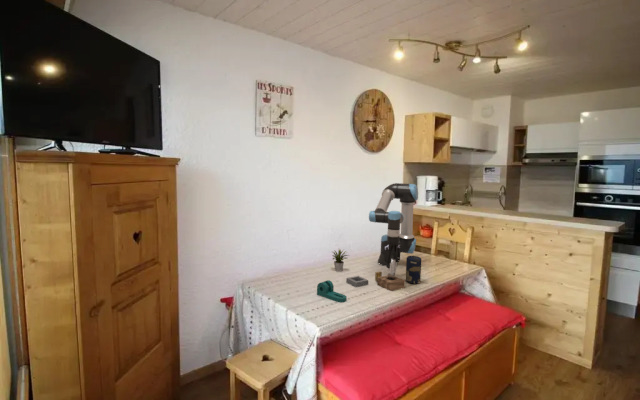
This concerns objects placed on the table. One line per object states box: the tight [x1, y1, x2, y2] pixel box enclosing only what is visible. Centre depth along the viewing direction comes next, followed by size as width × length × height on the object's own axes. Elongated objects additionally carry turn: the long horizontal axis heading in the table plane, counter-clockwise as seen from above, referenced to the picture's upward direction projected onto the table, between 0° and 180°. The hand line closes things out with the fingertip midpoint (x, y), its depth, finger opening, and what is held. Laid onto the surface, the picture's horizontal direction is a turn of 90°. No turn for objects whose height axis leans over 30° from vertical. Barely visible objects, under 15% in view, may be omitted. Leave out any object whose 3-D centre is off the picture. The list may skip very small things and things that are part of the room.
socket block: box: [376, 275, 406, 292], centre depth 208 cm, size 12×12×5 cm
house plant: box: [332, 248, 349, 272], centre depth 237 cm, size 14×14×16 cm
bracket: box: [316, 280, 347, 303], centre depth 187 cm, size 18×7×8 cm, turn 48°
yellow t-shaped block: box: [374, 270, 383, 282], centre depth 214 cm, size 10×4×6 cm, turn 33°
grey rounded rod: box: [388, 258, 396, 280], centre depth 208 cm, size 4×4×16 cm
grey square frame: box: [345, 275, 369, 288], centre depth 211 cm, size 10×10×3 cm
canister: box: [405, 255, 422, 285], centre depth 217 cm, size 10×10×18 cm
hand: (391, 272), depth 208 cm, fingers closed on grey rounded rod, 4 cm apart
